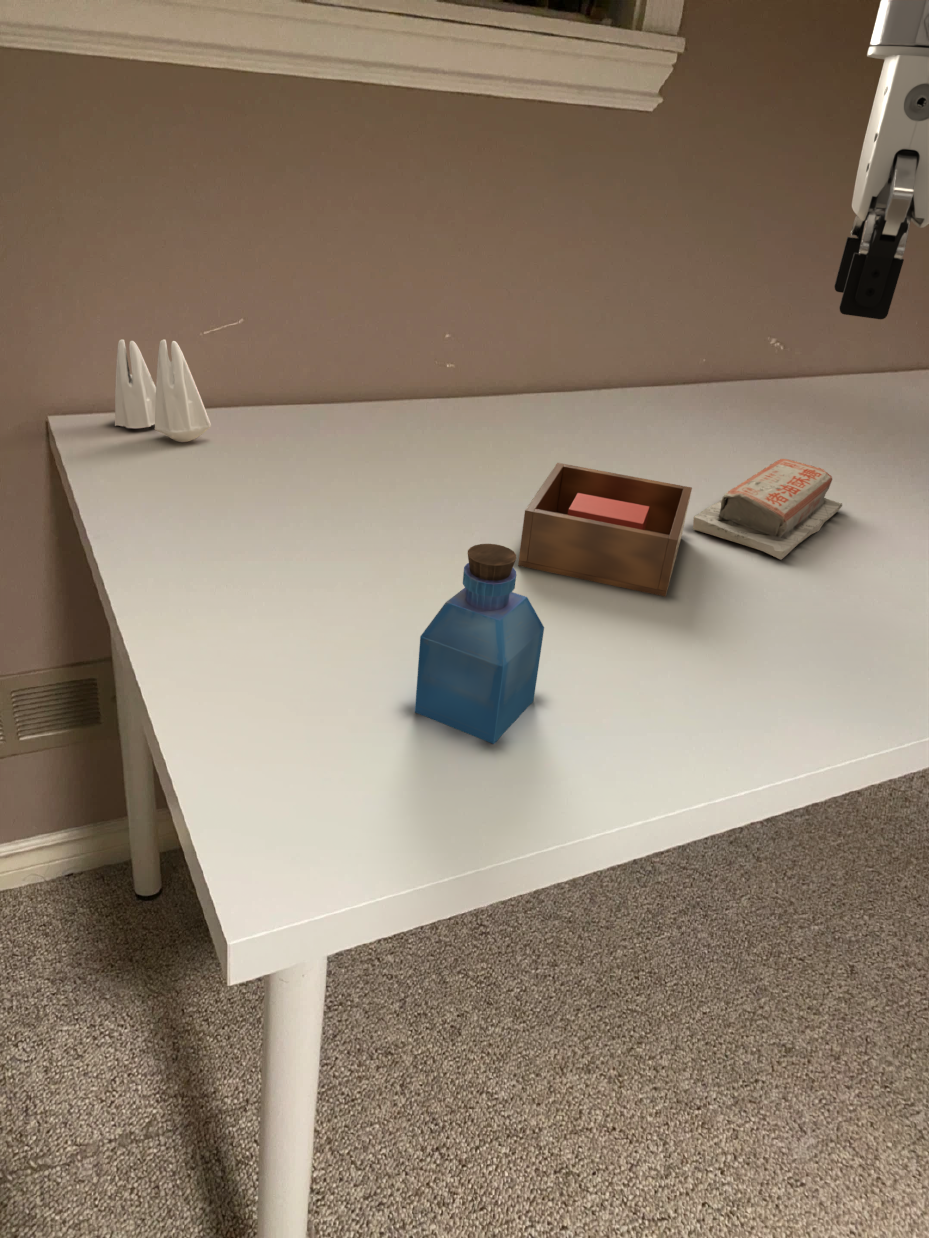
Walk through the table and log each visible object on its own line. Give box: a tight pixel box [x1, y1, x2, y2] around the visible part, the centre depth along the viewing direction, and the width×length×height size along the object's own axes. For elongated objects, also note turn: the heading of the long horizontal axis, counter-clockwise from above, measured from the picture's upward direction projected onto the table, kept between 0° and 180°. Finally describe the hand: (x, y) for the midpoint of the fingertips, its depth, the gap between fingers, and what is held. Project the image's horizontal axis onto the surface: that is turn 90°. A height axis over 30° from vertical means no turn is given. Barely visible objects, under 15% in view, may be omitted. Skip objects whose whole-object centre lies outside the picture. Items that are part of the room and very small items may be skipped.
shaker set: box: [114, 338, 212, 443], centre depth 106 cm, size 12×4×11 cm, turn 59°
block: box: [568, 493, 649, 530], centre depth 90 cm, size 7×4×4 cm, turn 73°
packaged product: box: [692, 458, 843, 561], centre depth 100 cm, size 18×5×10 cm
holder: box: [517, 462, 693, 597], centre depth 90 cm, size 14×14×6 cm
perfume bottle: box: [414, 543, 545, 745], centre depth 64 cm, size 6×6×12 cm
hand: (857, 304), depth 70 cm, fingers open, 9 cm apart
